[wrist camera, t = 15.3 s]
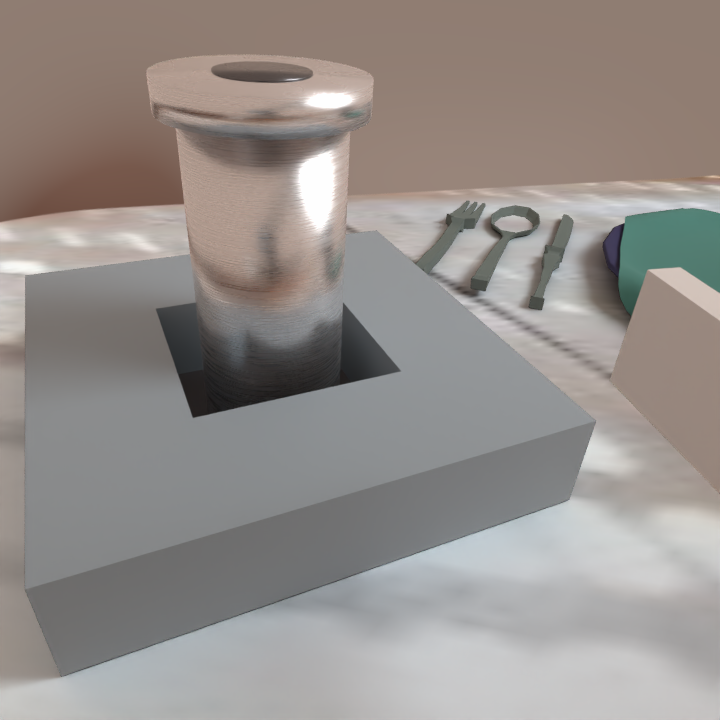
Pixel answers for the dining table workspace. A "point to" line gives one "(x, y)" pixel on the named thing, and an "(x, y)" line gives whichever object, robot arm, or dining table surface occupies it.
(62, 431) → the jig
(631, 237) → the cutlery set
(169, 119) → the bushing
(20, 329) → the dining table surface
